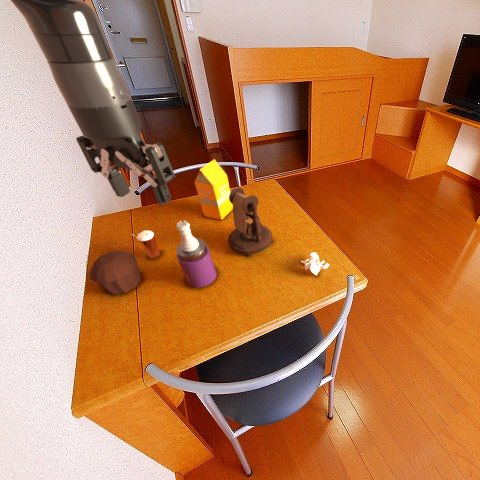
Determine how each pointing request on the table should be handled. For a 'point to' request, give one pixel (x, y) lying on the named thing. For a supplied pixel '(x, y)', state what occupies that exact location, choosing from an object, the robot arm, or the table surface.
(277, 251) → the table surface
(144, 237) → the milkshake
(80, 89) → the robot arm
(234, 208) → the scroll
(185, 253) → the jar lid
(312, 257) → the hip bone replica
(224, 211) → the orange juice
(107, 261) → the muffin
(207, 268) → the jar
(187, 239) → the rook chess piece
